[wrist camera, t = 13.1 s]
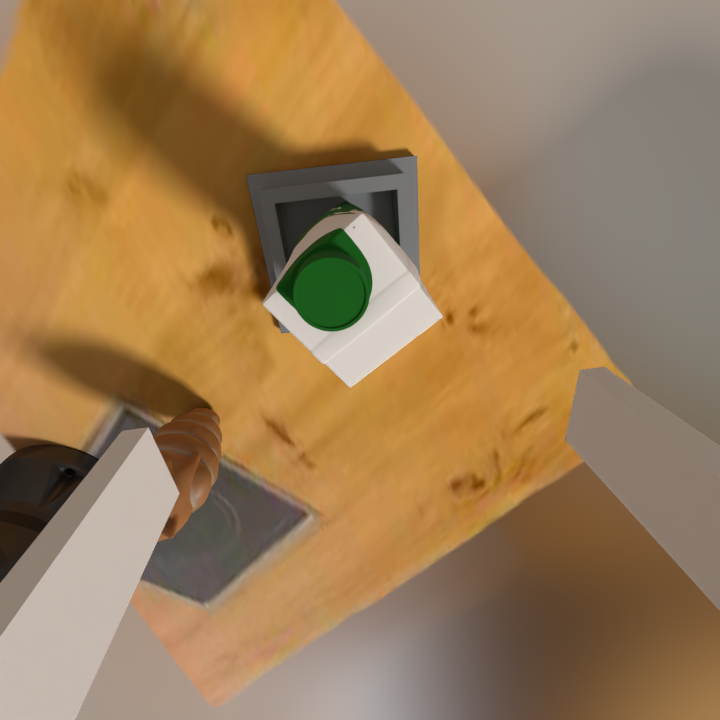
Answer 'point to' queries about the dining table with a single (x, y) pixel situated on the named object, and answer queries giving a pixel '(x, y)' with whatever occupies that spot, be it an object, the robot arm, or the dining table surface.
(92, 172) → the dining table surface
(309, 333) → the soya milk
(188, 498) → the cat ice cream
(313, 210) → the dock
